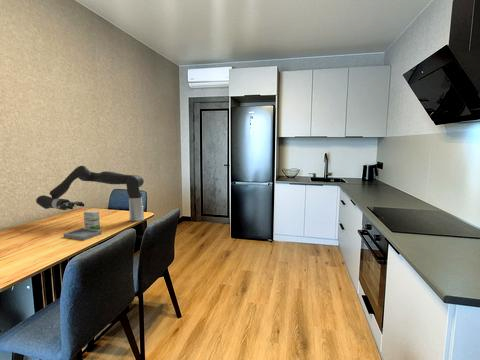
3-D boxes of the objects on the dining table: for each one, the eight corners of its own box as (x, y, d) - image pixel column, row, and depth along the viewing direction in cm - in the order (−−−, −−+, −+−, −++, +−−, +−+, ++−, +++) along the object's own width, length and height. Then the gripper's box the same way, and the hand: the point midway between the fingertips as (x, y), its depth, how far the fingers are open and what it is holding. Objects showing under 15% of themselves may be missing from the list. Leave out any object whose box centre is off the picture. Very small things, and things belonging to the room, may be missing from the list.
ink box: (100, 228, 179) (99, 211, 178) (94, 230, 175) (93, 212, 173) (90, 227, 182) (89, 210, 181) (84, 229, 177) (83, 211, 176)
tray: (82, 230, 174) (82, 227, 174) (101, 233, 168) (101, 230, 168) (63, 237, 162) (63, 233, 162) (84, 240, 156) (83, 236, 156)
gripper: (50, 200, 179) (68, 202, 173) (70, 197, 192) (87, 198, 187) (51, 211, 180) (68, 214, 174) (71, 207, 193) (87, 209, 188)
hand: (78, 206), depth 180 cm, fingers open, 8 cm apart
